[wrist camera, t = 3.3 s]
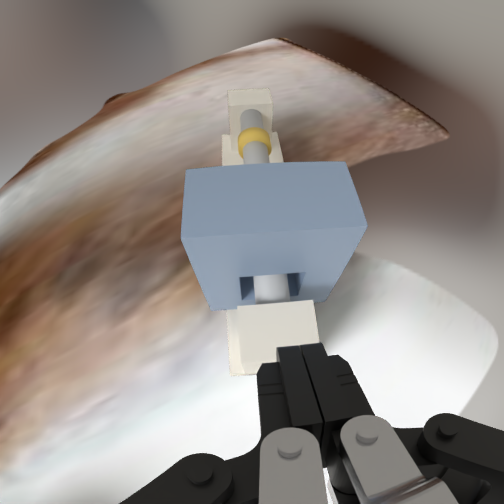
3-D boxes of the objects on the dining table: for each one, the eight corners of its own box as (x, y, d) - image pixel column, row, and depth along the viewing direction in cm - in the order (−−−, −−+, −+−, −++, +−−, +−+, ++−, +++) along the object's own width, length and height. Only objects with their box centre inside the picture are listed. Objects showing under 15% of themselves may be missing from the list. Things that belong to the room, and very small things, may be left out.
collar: (324, 301, 21) (368, 226, 12) (211, 310, 20) (180, 238, 12) (315, 252, 23) (344, 161, 14) (210, 259, 22) (186, 169, 14)
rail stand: (316, 368, 20) (341, 352, 14) (230, 376, 20) (219, 364, 14) (277, 137, 31) (279, 88, 26) (221, 140, 31) (216, 91, 26)
